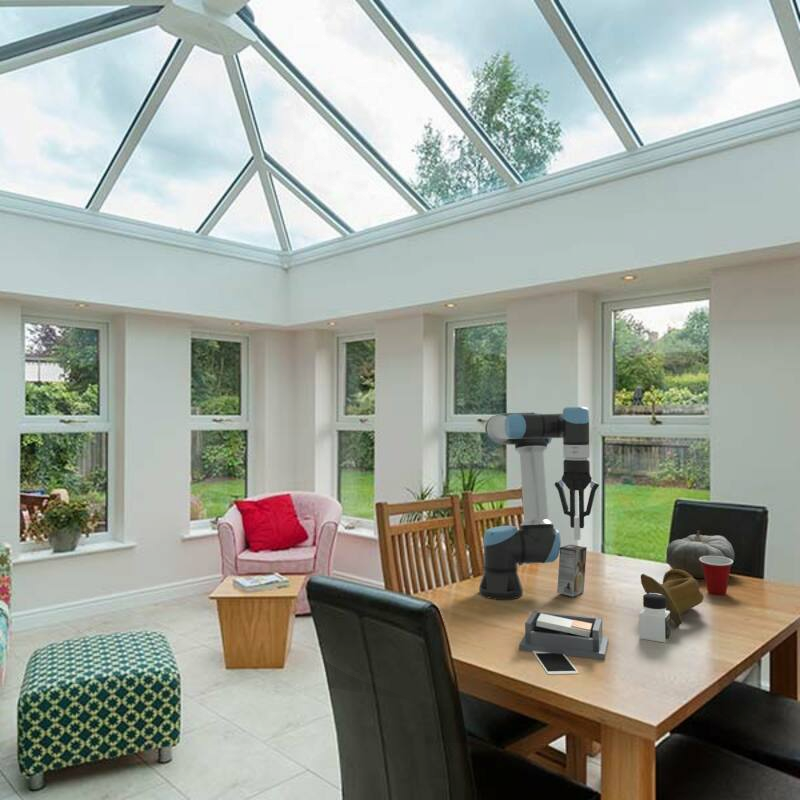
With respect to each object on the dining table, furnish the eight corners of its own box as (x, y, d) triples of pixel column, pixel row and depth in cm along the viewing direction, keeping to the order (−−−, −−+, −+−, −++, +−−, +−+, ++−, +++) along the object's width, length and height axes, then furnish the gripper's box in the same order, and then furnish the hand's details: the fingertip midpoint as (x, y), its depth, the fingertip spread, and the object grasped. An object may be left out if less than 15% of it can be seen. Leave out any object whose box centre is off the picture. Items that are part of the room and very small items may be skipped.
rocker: (536, 625, 181) (536, 619, 181) (540, 618, 187) (541, 612, 187) (589, 637, 176) (590, 630, 176) (591, 629, 182) (592, 622, 182)
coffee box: (567, 588, 240) (570, 543, 241) (584, 592, 236) (587, 547, 237) (556, 592, 233) (559, 546, 233) (573, 597, 229) (577, 550, 229)
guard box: (519, 649, 179) (518, 623, 179) (528, 633, 192) (528, 609, 192) (604, 660, 171) (604, 632, 171) (608, 642, 184) (608, 617, 184)
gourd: (748, 567, 261) (739, 524, 261) (724, 589, 244) (714, 543, 244) (685, 564, 280) (677, 523, 279) (659, 584, 263) (650, 541, 262)
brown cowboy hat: (603, 584, 212) (656, 559, 227) (622, 635, 208) (675, 606, 224) (662, 575, 193) (715, 548, 208) (684, 631, 190) (737, 600, 205)
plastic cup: (700, 595, 231) (699, 560, 231) (699, 588, 241) (698, 554, 241) (735, 598, 227) (734, 563, 227) (732, 590, 237) (732, 556, 237)
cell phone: (561, 652, 178) (561, 650, 178) (579, 675, 162) (579, 673, 162) (532, 653, 178) (532, 650, 178) (547, 676, 162) (547, 673, 162)
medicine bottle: (666, 643, 183) (665, 599, 184) (639, 638, 187) (638, 595, 187) (670, 635, 189) (670, 593, 190) (644, 631, 193) (644, 590, 193)
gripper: (552, 459, 197) (553, 539, 196) (598, 460, 192) (599, 542, 191) (555, 457, 204) (556, 535, 203) (600, 458, 199) (601, 538, 198)
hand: (577, 538), depth 197 cm, fingers closed
